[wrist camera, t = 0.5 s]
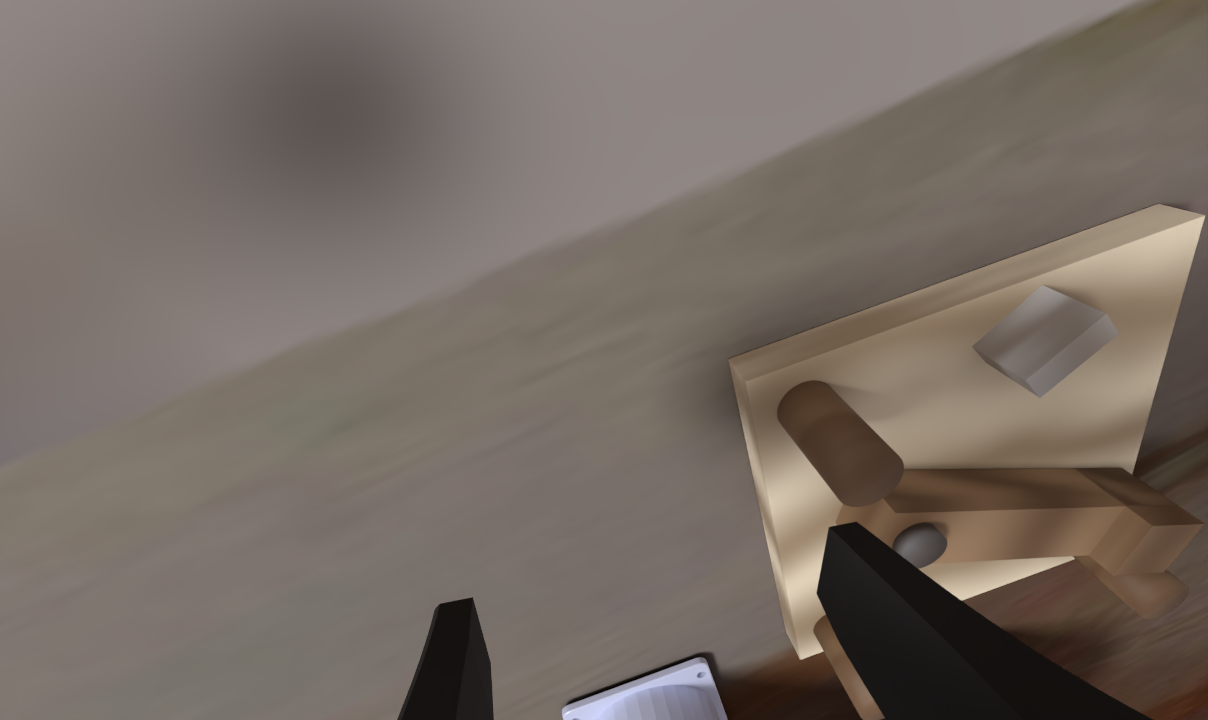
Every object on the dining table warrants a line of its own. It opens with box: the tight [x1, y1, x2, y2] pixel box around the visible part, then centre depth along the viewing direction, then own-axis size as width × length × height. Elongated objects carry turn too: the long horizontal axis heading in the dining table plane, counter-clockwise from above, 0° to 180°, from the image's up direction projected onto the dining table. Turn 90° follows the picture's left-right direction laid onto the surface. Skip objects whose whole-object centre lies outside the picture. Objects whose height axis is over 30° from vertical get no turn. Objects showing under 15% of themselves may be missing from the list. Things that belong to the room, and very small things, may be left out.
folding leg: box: [836, 468, 1205, 576], centre depth 24 cm, size 14×3×4 cm, turn 81°
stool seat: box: [728, 204, 1205, 720], centre depth 23 cm, size 18×17×6 cm
